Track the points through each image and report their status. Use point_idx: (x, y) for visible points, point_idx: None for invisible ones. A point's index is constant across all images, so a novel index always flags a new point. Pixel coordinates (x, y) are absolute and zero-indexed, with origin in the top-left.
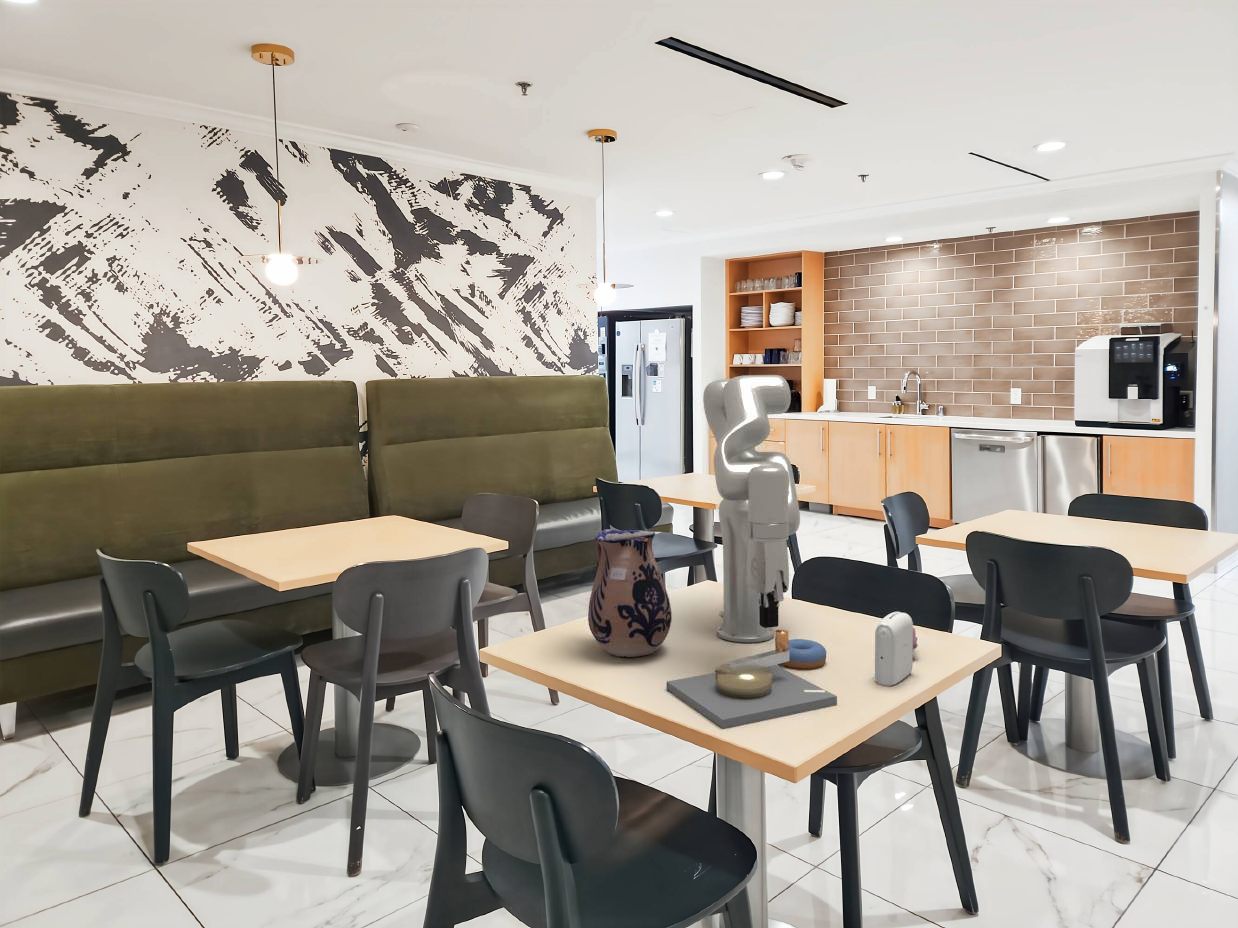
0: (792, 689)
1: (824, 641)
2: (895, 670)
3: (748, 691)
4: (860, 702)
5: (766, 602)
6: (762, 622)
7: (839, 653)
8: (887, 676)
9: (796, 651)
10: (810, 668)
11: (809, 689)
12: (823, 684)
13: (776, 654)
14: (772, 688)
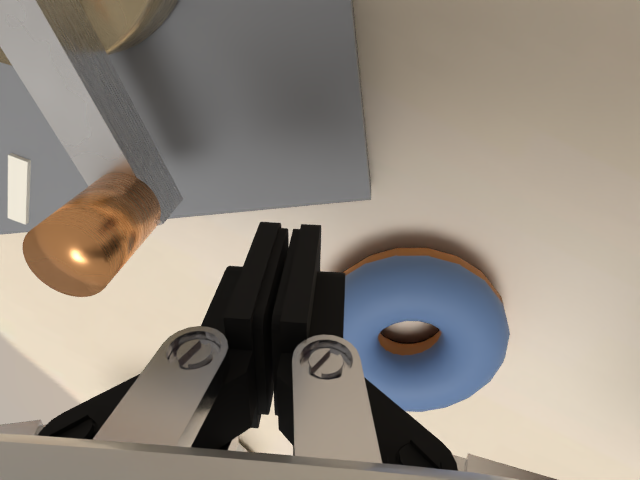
0: (50, 129)
1: (549, 448)
2: None
3: None
4: (28, 285)
5: (143, 371)
6: (263, 237)
7: (427, 428)
8: None
9: (351, 312)
10: None
11: (48, 186)
12: (184, 271)
13: (68, 149)
14: None
